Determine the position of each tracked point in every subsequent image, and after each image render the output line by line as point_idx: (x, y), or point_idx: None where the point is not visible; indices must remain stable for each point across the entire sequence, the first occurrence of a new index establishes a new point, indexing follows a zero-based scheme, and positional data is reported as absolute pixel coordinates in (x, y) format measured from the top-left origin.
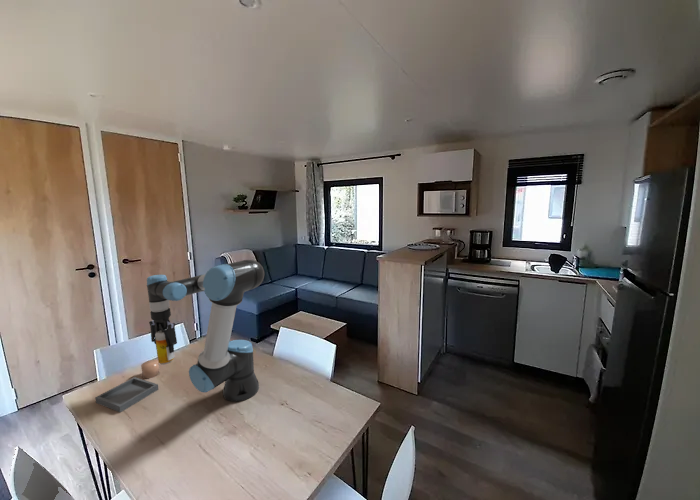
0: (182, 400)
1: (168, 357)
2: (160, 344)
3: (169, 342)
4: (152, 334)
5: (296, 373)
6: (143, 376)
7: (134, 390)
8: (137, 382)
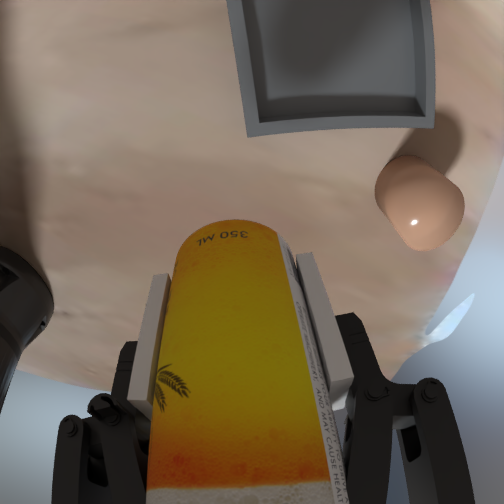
0: (66, 156)
1: (149, 295)
2: (175, 423)
3: (109, 452)
4: (440, 486)
5: (26, 364)
6: (415, 158)
7: (342, 63)
8: (394, 112)
